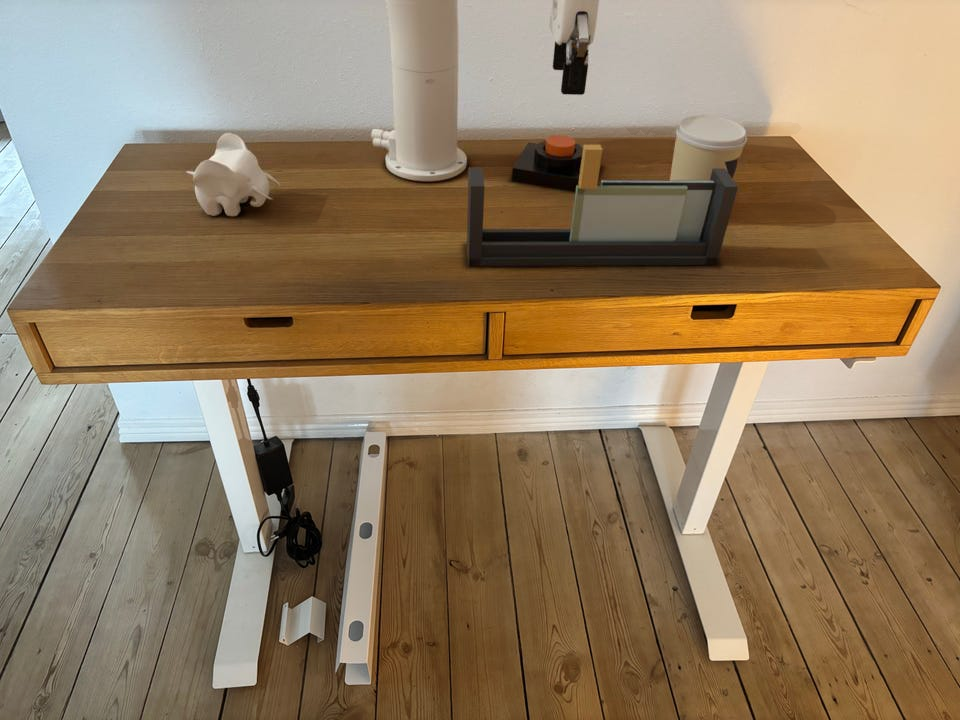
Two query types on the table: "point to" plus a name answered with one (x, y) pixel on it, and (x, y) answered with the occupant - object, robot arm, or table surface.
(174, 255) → the table surface
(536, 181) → the switch box
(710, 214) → the window frame
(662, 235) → the sliding pane
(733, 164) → the coffee cup
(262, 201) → the elephant figurine
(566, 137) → the button
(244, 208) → the table surface
